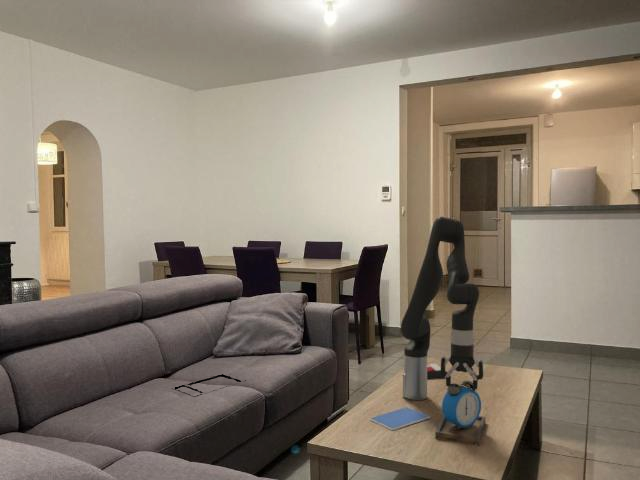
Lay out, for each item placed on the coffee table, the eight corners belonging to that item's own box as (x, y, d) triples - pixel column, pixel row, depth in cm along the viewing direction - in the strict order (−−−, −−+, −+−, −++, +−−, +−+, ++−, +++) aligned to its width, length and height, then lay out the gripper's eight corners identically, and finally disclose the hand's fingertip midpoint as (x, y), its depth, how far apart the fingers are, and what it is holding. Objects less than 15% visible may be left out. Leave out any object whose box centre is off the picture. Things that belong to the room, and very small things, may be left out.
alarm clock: (453, 432, 177) (454, 387, 176) (440, 426, 182) (441, 382, 182) (481, 424, 184) (482, 381, 183) (468, 418, 189) (468, 376, 188)
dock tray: (435, 438, 177) (435, 431, 176) (445, 417, 195) (445, 411, 195) (479, 445, 171) (479, 438, 171) (485, 423, 190) (485, 416, 190)
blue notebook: (392, 432, 183) (392, 428, 183) (368, 421, 193) (368, 417, 193) (431, 420, 194) (431, 416, 194) (406, 409, 204) (406, 406, 204)
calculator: (405, 365, 251) (436, 362, 254) (406, 374, 252) (436, 371, 254) (413, 371, 241) (444, 368, 243) (413, 381, 241) (445, 378, 243)
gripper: (485, 341, 183) (484, 388, 183) (442, 337, 188) (442, 383, 189) (482, 346, 176) (482, 395, 176) (439, 342, 181) (438, 389, 182)
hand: (461, 388), depth 183 cm, fingers closed on alarm clock, 7 cm apart
